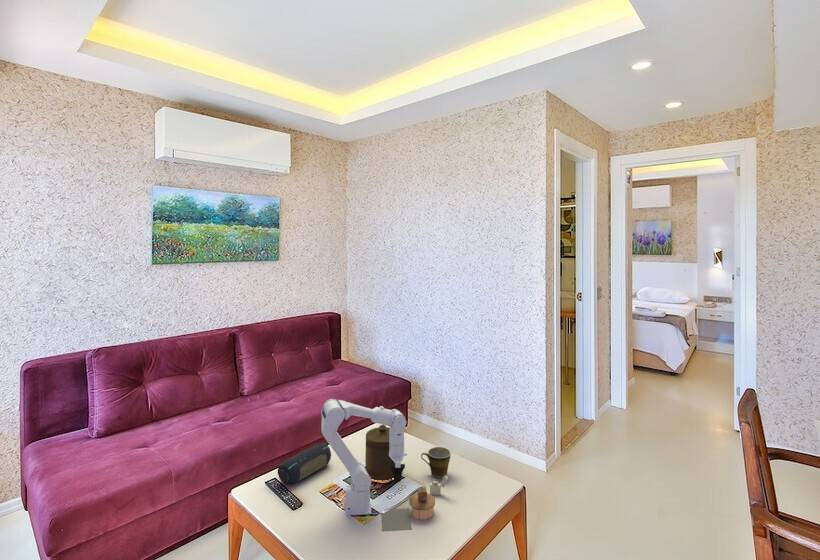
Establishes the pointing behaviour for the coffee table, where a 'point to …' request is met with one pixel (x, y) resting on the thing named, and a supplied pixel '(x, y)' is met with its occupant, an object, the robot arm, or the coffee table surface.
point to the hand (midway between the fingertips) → (396, 475)
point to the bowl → (422, 513)
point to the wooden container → (378, 454)
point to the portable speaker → (304, 463)
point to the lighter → (437, 486)
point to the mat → (396, 520)
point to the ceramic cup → (438, 461)
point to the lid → (422, 500)
